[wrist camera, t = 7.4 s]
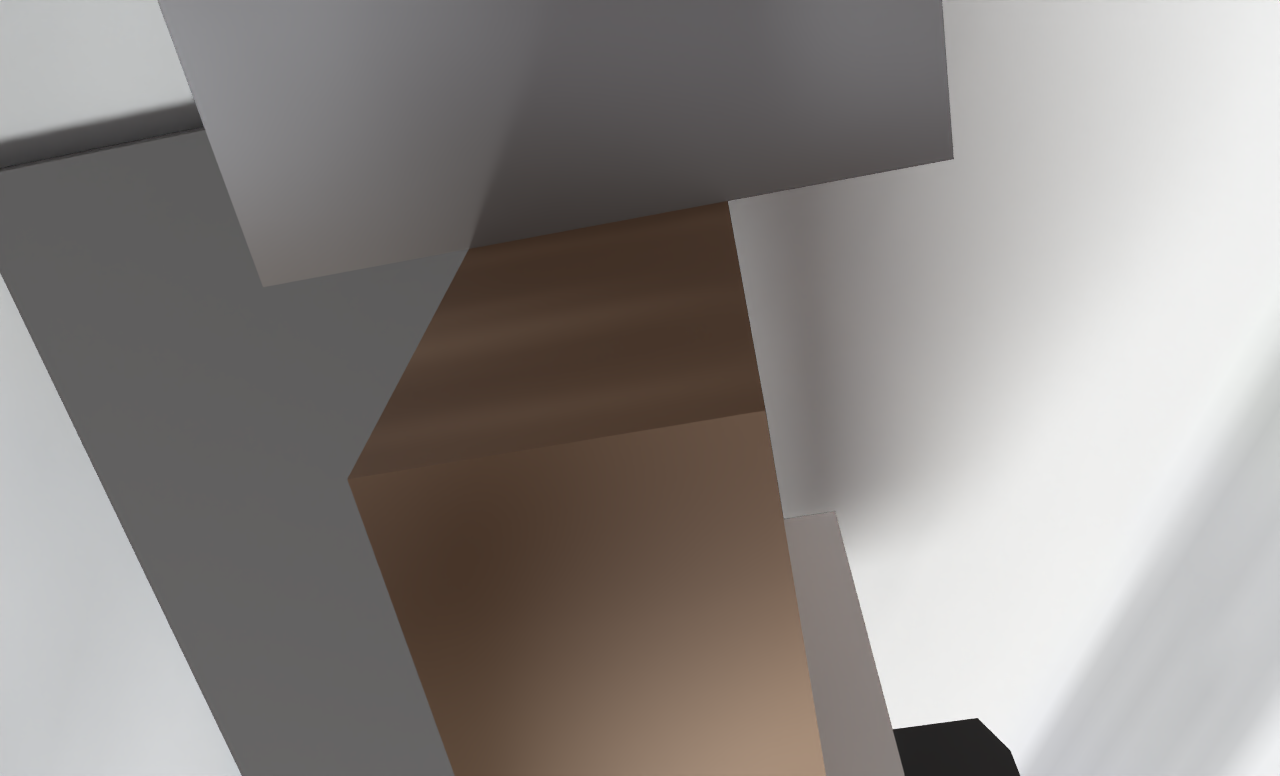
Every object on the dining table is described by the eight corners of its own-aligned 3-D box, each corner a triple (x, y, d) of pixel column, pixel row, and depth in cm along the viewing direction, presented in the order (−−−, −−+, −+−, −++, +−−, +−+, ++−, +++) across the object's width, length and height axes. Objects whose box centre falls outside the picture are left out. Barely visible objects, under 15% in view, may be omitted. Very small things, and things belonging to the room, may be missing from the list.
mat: (427, 1141, 30) (425, 1157, 30) (-30, 174, 18) (-44, 181, 18) (856, 1098, 29) (858, 1114, 29) (663, 33, 17) (663, 36, 17)
